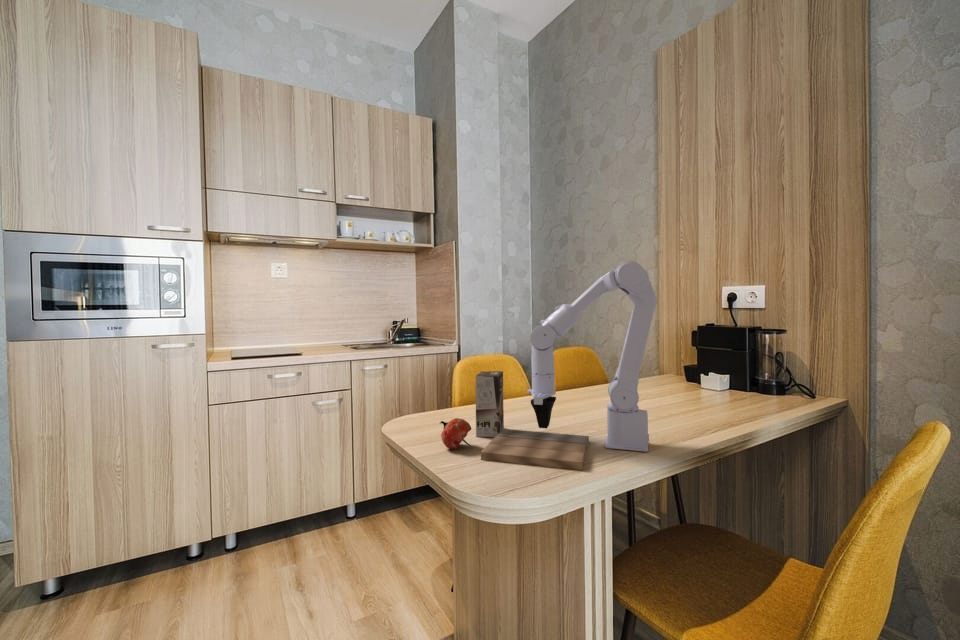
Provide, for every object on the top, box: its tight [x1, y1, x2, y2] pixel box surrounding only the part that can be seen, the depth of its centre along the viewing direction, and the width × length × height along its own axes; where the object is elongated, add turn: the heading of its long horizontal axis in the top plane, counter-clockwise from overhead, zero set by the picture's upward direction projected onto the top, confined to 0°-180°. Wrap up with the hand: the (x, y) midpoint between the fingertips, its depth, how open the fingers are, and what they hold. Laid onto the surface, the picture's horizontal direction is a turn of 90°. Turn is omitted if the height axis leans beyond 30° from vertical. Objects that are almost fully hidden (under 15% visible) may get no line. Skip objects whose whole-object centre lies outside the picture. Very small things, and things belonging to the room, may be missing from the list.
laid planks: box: [480, 436, 588, 471], centre depth 97 cm, size 22×12×2 cm, turn 71°
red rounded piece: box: [439, 417, 474, 451], centre depth 103 cm, size 7×7×10 cm
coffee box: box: [474, 370, 505, 439], centre depth 114 cm, size 9×6×16 cm
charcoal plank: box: [497, 428, 590, 449], centre depth 106 cm, size 22×7×2 cm, turn 71°
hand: (543, 426), depth 107 cm, fingers closed
